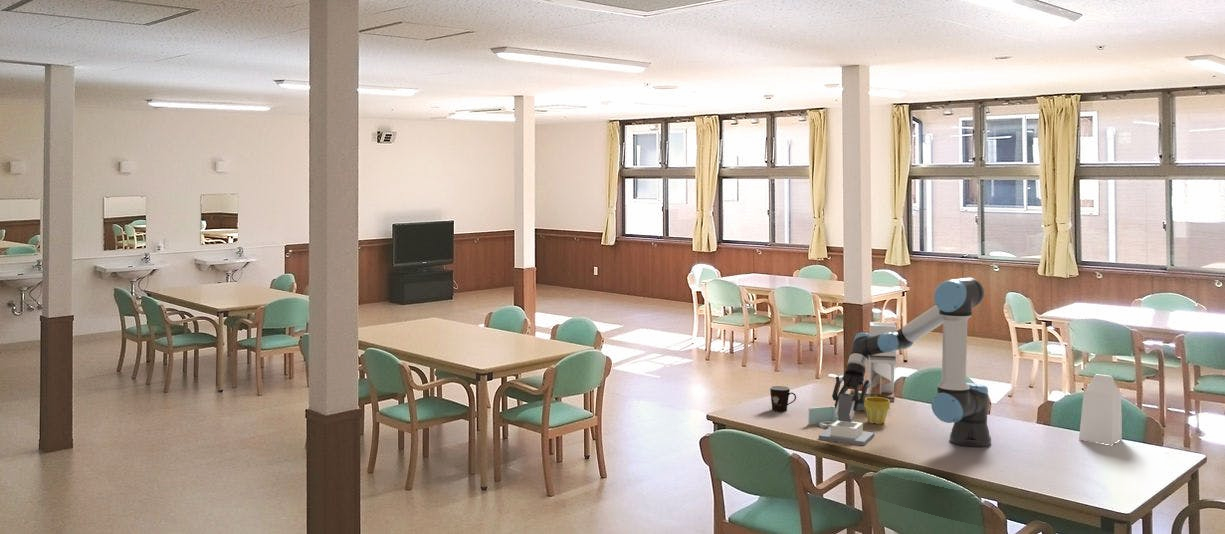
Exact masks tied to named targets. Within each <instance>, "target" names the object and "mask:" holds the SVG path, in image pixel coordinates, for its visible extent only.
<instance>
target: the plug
mask: <svg viewBox="0 0 1225 534" xmlns="http://www.w3.org/2000/svg"><path fill="white" fill-rule="evenodd" d="M853 401H855V395H853V394H850V393H842V394H841V395H839V409H838V421H844V423H845V424H846V422H854V420H855V413H854V414H853V418H852V419H850V416H849V414H850V410H851V406H852V403H853Z"/></svg>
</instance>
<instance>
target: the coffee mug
mask: <svg viewBox="0 0 1225 534" xmlns="http://www.w3.org/2000/svg"><path fill="white" fill-rule="evenodd" d="M769 389H770V390H769V391H770V400H771V401H770V402H771V411H772V412H776V411H778V412H777V413H784V411H785V412H787V411H788V406H789V405H790V404H792V403H794V402H795V401H796V400H797V396H796V395H797V394H795V393H794V392H791V391H790V390H791V389H790V387H789V386H786V385H785V386H784V385H773V386H770V387H769ZM790 395H793V397H794V399H793V400H792V401H790V402H789V397H790Z"/></svg>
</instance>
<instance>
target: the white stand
mask: <svg viewBox="0 0 1225 534" xmlns="http://www.w3.org/2000/svg"><path fill="white" fill-rule="evenodd" d="M895 331H897V325H896V322H882V321H881V322H878V321H877V322H876V321H875V322H874V321H870V322H869V335H871V336H876V335H880V334H883V333H891V332H895ZM896 356H897V350H895V351H891V352H886V353H881V354H875V355H870V356H869V359H868V380H869V383H870V386H869V387H868V388H867V394H877V395H876V397H881V398H886V399H889V400H890V401H894V402H895V394H894V393H895V392H894V388H895V387H894V386H895V365H896V361H897V360H896V358H897V357H896Z"/></svg>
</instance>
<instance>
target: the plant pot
mask: <svg viewBox="0 0 1225 534" xmlns="http://www.w3.org/2000/svg"><path fill="white" fill-rule="evenodd" d="M890 405H891V402H890V400H889V399H886V398H881V397H867V398H865V401H864V406H865V407H866V411H865V412H866V416H867V417H866V418H867V422H868V423H869V422H870V423H869V424H873V423H876V424H875V425H883V424H885V423H886V418H887V413H888V410H889V409H890ZM882 423H883V424H882Z"/></svg>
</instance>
